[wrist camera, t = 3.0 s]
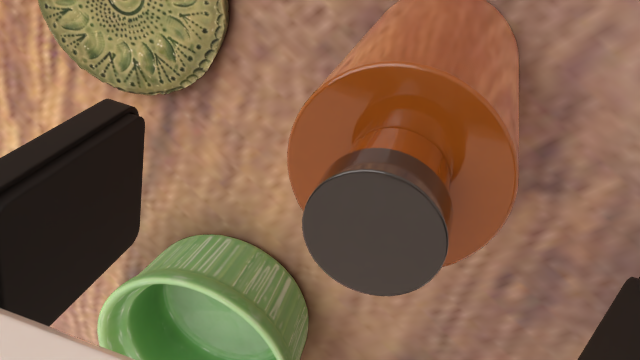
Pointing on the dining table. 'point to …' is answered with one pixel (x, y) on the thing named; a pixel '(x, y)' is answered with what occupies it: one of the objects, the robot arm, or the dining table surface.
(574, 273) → the dining table surface
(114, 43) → the medallion
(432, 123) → the amber bottle
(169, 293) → the ramekin
